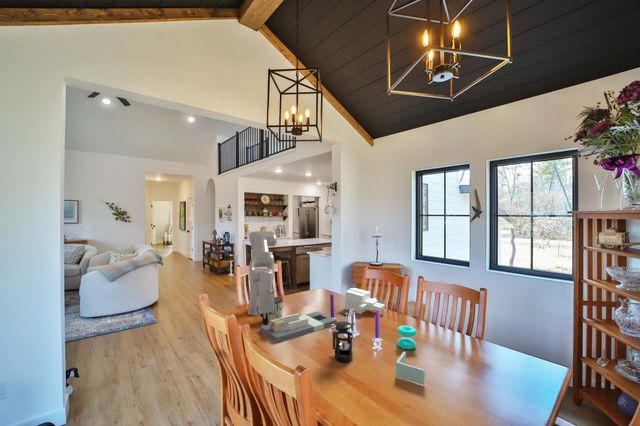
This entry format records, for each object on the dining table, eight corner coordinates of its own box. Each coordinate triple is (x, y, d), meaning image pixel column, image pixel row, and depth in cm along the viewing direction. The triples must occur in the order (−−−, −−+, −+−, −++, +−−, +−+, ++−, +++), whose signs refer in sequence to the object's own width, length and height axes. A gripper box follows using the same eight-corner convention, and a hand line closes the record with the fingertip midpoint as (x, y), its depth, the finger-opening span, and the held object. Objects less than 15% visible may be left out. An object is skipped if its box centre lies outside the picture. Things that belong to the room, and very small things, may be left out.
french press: (357, 358, 142) (358, 312, 142) (346, 366, 135) (347, 317, 135) (339, 350, 150) (339, 307, 150) (327, 357, 143) (328, 311, 143)
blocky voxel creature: (374, 323, 194) (339, 311, 210) (388, 313, 215) (355, 303, 230) (376, 302, 193) (341, 291, 209) (390, 293, 214) (357, 285, 230)
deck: (260, 331, 173) (260, 319, 173) (317, 315, 201) (317, 305, 201) (276, 343, 158) (276, 330, 158) (336, 324, 186) (336, 313, 186)
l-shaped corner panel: (423, 388, 120) (424, 370, 120) (395, 379, 126) (396, 362, 126) (429, 375, 130) (429, 358, 130) (403, 367, 136) (403, 351, 136)
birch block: (270, 328, 170) (270, 320, 170) (278, 326, 173) (279, 318, 173) (275, 332, 165) (275, 323, 165) (284, 329, 169) (284, 321, 169)
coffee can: (269, 317, 197) (269, 296, 197) (284, 318, 196) (284, 297, 196) (265, 322, 186) (265, 301, 186) (280, 323, 185) (280, 302, 185)
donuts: (396, 324, 162) (415, 325, 160) (396, 341, 162) (414, 343, 160) (398, 331, 153) (417, 332, 151) (397, 349, 153) (417, 351, 151)
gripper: (273, 289, 172) (273, 320, 171) (250, 293, 162) (250, 325, 162) (280, 291, 166) (279, 323, 165) (256, 296, 157) (256, 329, 156)
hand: (265, 324), depth 164 cm, fingers closed
